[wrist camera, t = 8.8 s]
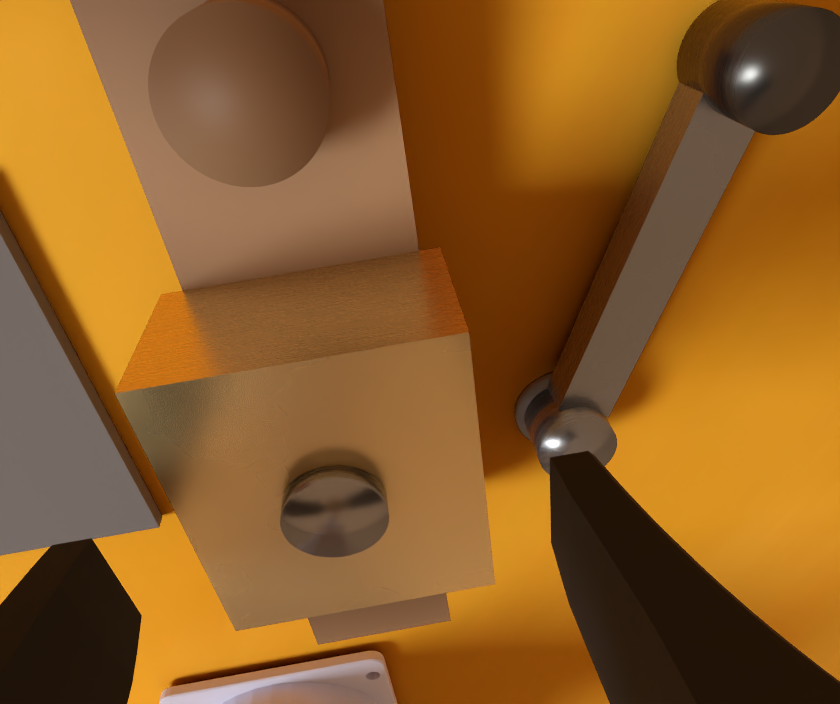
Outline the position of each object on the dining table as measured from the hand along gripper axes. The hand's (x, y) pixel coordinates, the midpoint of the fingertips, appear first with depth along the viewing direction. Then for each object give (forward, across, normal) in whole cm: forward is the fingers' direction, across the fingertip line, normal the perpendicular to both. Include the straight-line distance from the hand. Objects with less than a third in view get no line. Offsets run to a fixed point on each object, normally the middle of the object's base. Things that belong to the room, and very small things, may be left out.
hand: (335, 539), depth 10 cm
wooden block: (+4, 0, 0) cm, 4 cm away
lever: (+6, -7, -1) cm, 9 cm away
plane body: (+6, -2, -1) cm, 7 cm away
